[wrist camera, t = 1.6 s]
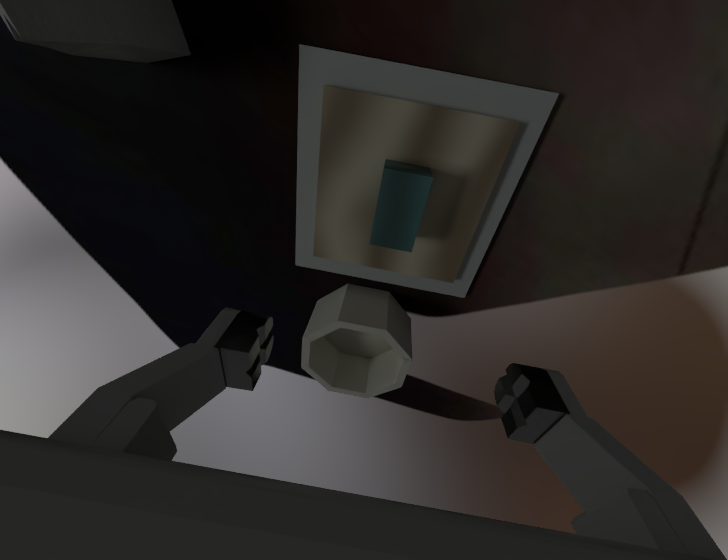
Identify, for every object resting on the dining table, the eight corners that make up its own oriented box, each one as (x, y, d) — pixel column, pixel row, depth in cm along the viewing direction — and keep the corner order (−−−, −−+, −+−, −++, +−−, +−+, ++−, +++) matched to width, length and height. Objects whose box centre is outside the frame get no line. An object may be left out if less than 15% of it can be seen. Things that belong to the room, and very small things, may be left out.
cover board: (516, 121, 20) (537, 127, 17) (451, 278, 28) (458, 302, 25) (325, 84, 20) (312, 84, 17) (315, 252, 28) (304, 272, 25)
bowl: (418, 297, 31) (420, 336, 26) (396, 361, 37) (395, 403, 32) (319, 277, 31) (303, 314, 26) (314, 345, 37) (300, 385, 32)
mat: (555, 93, 20) (559, 93, 19) (463, 294, 30) (464, 297, 29) (302, 45, 20) (299, 44, 19) (297, 262, 30) (295, 265, 29)
